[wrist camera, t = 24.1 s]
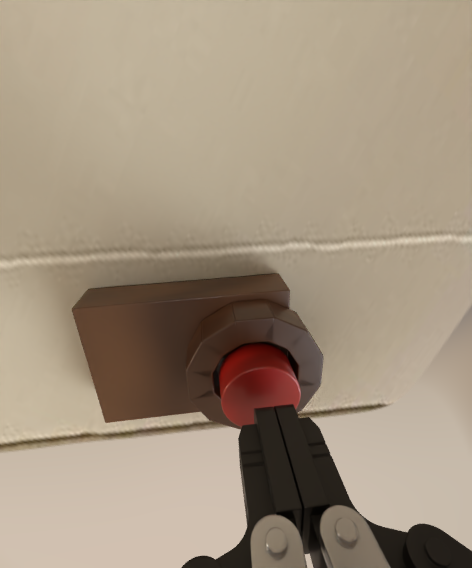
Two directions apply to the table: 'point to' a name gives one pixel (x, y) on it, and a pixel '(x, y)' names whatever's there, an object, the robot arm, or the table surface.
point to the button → (256, 382)
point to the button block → (186, 342)
